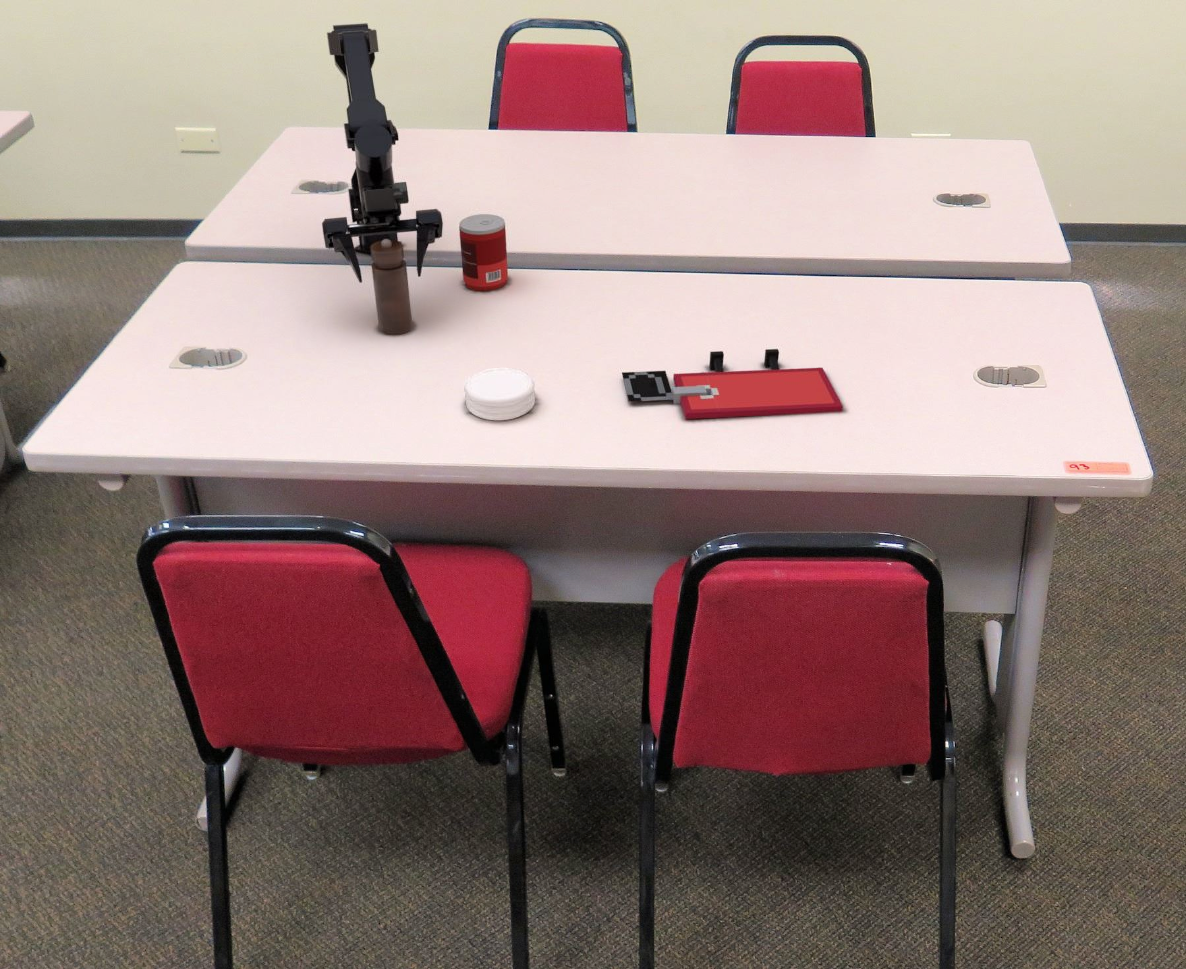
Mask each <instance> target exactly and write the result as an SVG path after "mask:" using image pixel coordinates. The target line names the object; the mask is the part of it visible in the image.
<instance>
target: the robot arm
mask: <svg viewBox="0 0 1186 969" xmlns="http://www.w3.org/2000/svg"><path fill="white" fill-rule="evenodd" d="M326 38H327V43H328V44H327V45H328V53H329V55H330V56H333V60H334V66H335V67H336V68H337V70H338V71H339V72H340V74H341V75H342V76H343V78H344V79H345V84H346V91H347V98H348V106H347V108H346V118H347V123H345V122H344V123H343V130H344V137H345V144H346V148H347V149H348V150H349V149H351V151H352V152H354V153H355V154H354V155H355V169H354V171H353V173H352V176H351V178H350V184H351V188H348V189H347V190H348V191H347V192H348V201H349V210H350V216H351V220H352V223H351V224H348V218H347V216H341V217H334V218H333V217H331V218H324V220H323V221H322V222H321V227H322V234H323V240H324V247H325V248H326V249H330V250H331V249H333V251H334V252H335V253H340V254H341V255H342V256H343V257H344V259H345V260H346V261H347V263H348V264H349V266H350V267H351V269H352V271H353V273H354V276H355V277H356V278H357V280H358V282H359V284H361V283H363V277H362V271H361V267H360V264H359V259H358V257H357V252H359V253H364V254H369V255H371V248H370V247H371V245H372V244H374V243H376V242H378V241H383V240H384V239H389V240H395V241H399V238H398V234H400V233H410V232H411V233H413V232H416V273H417V277H418V278H420V277H421V275H422V271H423V266H424V260H425V255H426V253H427V250H428V248H429V245H432V244H435V242H436V240H437V239H440V238H442V237H443V225H444V222H443V216H442V215H443V214H442V212H441V211H440V210H439V209H438V208H432V209H431V208H430V209H421V210H420V209H419V210H415V218H409V219H408V218H407V219H401V215H402V207H401V205H404V204H409V191H408V185H407V182H406V181H401V182H400V181H399V182H395V176H394V171H393V146H395V145H396V142H398V141H399V140H400V139H399V132H398V130H397V127H396V126H395V125H394V124H393V122H392V119H388V116H387V111H386V106H385V105H384V104H383V103H382V102H381V101H379V99H377V96H376V95H377V94H376V91H375V90H376V89H375V83H374V78H373V72H372V69H373V67H374V64H375V61H376V55H375V53H379V52H380V49H379V42H378V33H377V29H375V28H374V29H373V28H372V29H371V28H369V24H368V23H367V22H365V23H349V24H334V25H332V31H331V32H330V31H327V32H326ZM353 223H354V224H353ZM357 237H358V244H359V245H357V246H355V245H354V240H353V238H357ZM399 242H401V243H402V241H399ZM402 244H403V243H402Z"/></svg>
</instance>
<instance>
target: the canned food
mask: <svg viewBox="0 0 1186 969" xmlns="http://www.w3.org/2000/svg"><path fill="white" fill-rule="evenodd" d="M458 225H459V227H458V228H459V243H460V254H461V255H460V256H461V257H460V258H461V267H462V268H461V269H462V279H463V283H464V286H466V287H467V288H468V289H470V290H472V291H479V292H488V291H489V292H490V291H494V290H495V291H496V290H497V289H500V288H502V287H504V286H505V285H506V284H507V282H508V278H509V275H508V274H509V273H508V272H509V271H508V256H507V255H508V251H507V232H506V222H505V219H504V218H503V217H501V216H499V215H497V214H490V213H483V214H482V213H480V214H479V213H478V214H473V215H470V216H469V215H468V216H467V217H465V218H462V219H461V220H460V221H459V223H458Z"/></svg>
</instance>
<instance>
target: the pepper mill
mask: <svg viewBox="0 0 1186 969" xmlns="http://www.w3.org/2000/svg"><path fill="white" fill-rule="evenodd" d="M401 242H402V241H400V242H399V240H398V241H395V240H389V239H384V240H383V241H378V242H376V243H374V244H372V245H371V247H370V248H371V254H370V255H371V256H370V257H371V261H372V262H371V267H370V268H371V275H372V282H373V284H372V285H373V291H374V300H375V308H376V315H377V316H376V317H377V323H378V331H379V332H381V333H382V334H385V335H389V336H397V335H402V334H407V333H409V332H410V331H412V329H413V326H414V325H413V317H412V308H411V298H410V287H409V286H410V285H409V278H408V268H407V262H406V261H405V252H404V251H405V250H404V244H403V243H401Z"/></svg>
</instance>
